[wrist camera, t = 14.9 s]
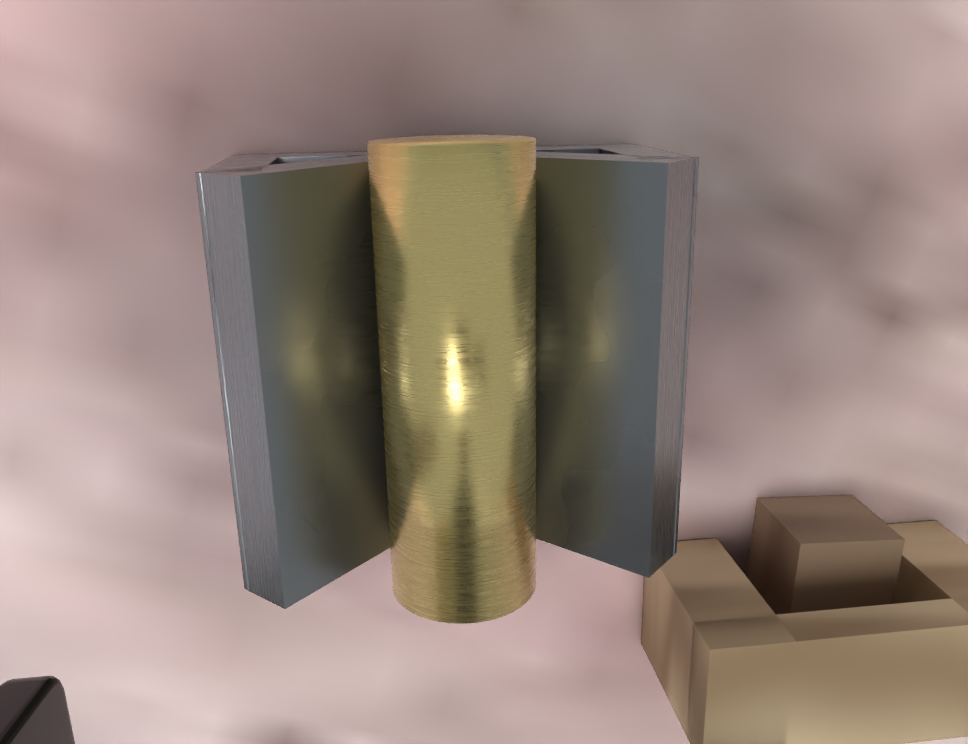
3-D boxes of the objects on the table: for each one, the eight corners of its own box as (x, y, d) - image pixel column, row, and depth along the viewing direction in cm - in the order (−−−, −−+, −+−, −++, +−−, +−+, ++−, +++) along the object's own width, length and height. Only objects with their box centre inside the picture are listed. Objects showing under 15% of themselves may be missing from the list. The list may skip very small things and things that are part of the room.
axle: (517, 539, 20) (551, 612, 17) (386, 554, 20) (400, 631, 17) (514, 133, 17) (555, 141, 15) (361, 137, 17) (373, 147, 14)
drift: (820, 653, 25) (871, 716, 22) (732, 658, 24) (773, 722, 22) (847, 491, 23) (905, 539, 21) (754, 495, 23) (800, 544, 20)
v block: (624, 474, 22) (690, 574, 17) (265, 500, 21) (238, 613, 16) (636, 143, 19) (716, 161, 15) (229, 155, 18) (186, 178, 14)
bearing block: (920, 617, 24) (1036, 728, 20) (641, 643, 24) (701, 766, 19) (935, 520, 24) (1061, 616, 19) (645, 543, 23) (709, 649, 18)
